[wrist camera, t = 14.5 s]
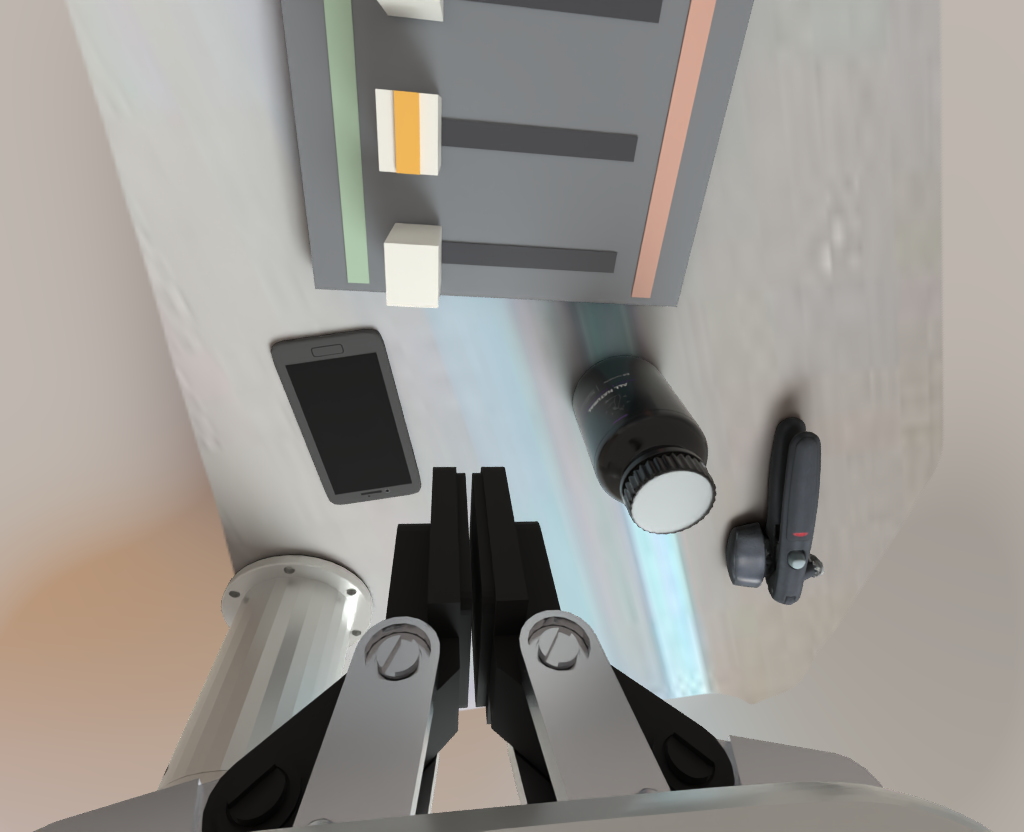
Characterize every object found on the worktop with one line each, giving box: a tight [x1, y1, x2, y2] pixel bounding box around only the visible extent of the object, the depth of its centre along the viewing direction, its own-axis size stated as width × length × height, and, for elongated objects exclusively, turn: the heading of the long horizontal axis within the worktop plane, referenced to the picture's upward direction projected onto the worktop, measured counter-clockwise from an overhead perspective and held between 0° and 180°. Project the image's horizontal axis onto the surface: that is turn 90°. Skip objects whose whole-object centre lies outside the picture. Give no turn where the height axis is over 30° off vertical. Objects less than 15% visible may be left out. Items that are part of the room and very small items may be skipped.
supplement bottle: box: [573, 355, 716, 534], centre depth 32 cm, size 7×7×12 cm
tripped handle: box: [375, 89, 442, 176], centre depth 23 cm, size 3×2×5 cm
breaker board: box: [281, 0, 754, 307], centre depth 27 cm, size 17×22×2 cm
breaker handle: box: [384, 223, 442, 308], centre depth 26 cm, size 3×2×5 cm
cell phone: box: [271, 329, 421, 505], centre depth 37 cm, size 7×14×1 cm, turn 7°
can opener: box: [726, 418, 824, 605], centre depth 42 cm, size 18×7×6 cm, turn 4°
